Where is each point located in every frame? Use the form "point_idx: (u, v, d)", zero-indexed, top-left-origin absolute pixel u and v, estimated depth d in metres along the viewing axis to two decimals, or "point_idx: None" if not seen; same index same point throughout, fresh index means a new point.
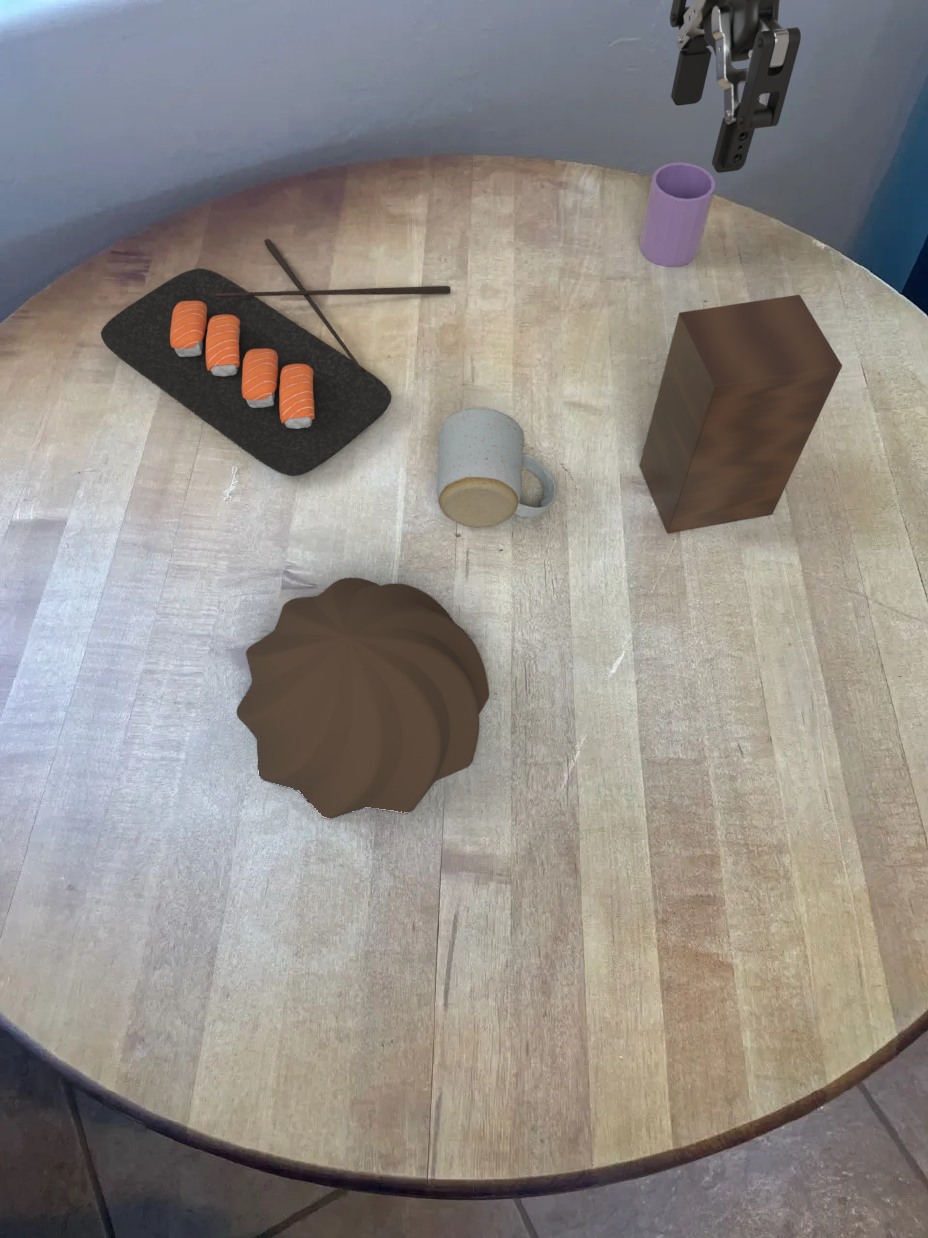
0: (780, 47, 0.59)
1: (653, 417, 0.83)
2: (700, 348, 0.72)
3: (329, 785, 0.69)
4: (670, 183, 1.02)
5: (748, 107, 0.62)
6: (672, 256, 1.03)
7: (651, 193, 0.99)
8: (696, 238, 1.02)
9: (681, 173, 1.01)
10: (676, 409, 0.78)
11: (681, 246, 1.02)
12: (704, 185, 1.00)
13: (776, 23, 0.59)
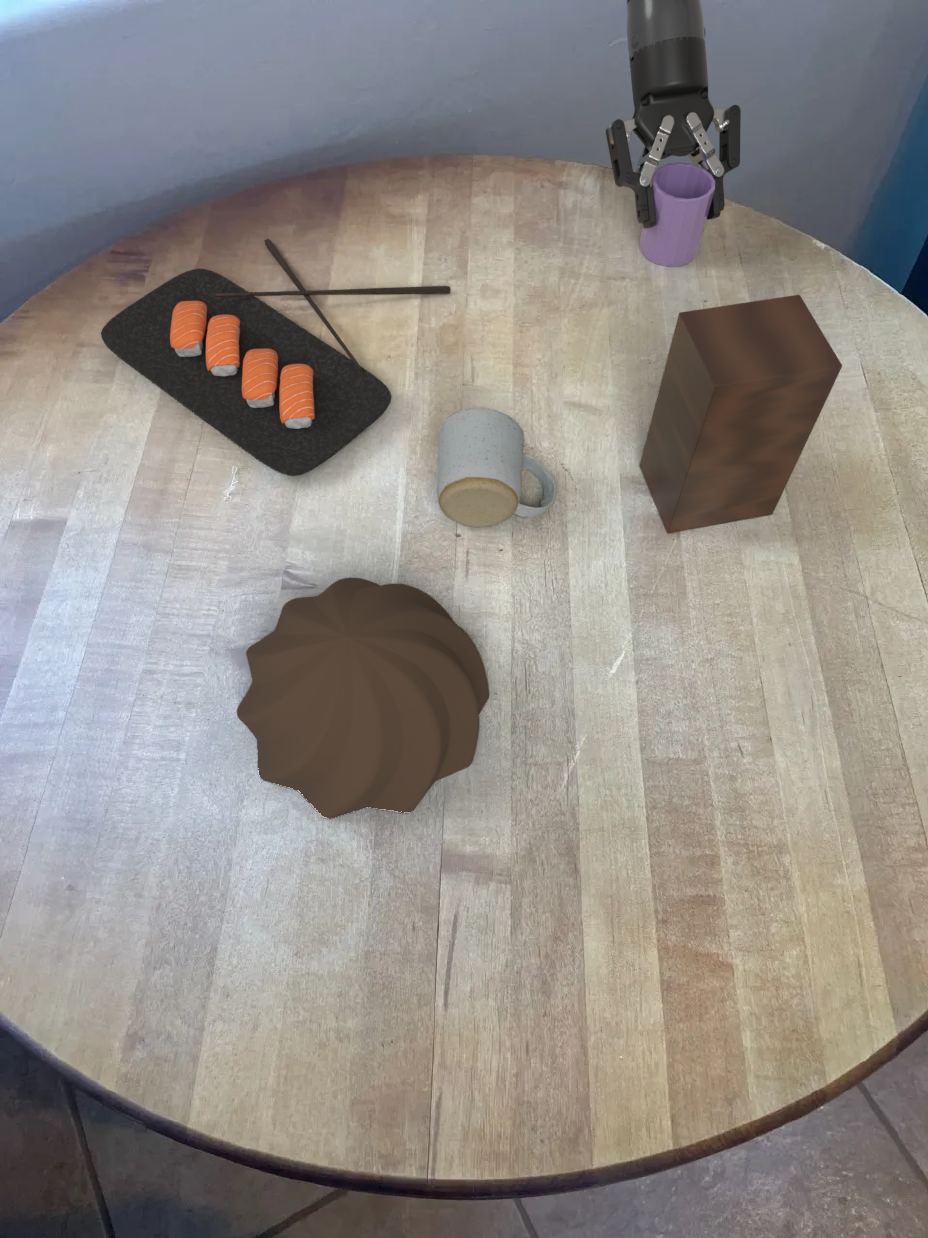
0: None
1: (653, 417, 0.83)
2: (700, 348, 0.72)
3: (329, 785, 0.69)
4: (670, 183, 1.02)
5: None
6: (672, 256, 1.03)
7: None
8: (696, 238, 1.02)
9: (681, 173, 1.01)
10: (676, 409, 0.78)
11: (681, 246, 1.02)
12: (704, 185, 1.00)
13: None
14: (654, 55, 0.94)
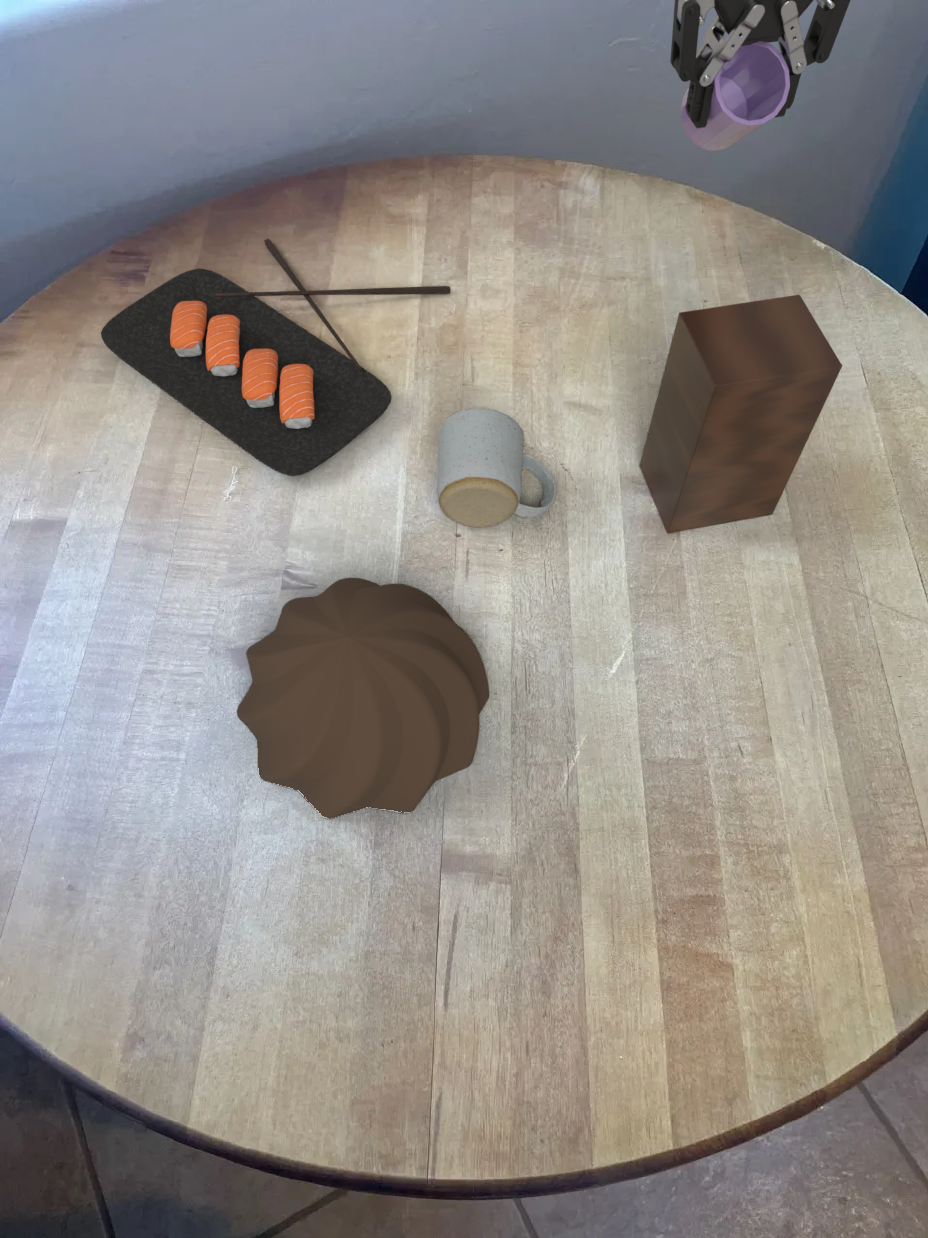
0: None
1: (653, 417, 0.83)
2: (700, 348, 0.72)
3: (329, 786, 0.69)
4: (738, 54, 0.80)
5: (834, 40, 0.77)
6: (714, 146, 0.86)
7: None
8: (747, 134, 0.84)
9: (755, 50, 0.79)
10: (676, 409, 0.78)
11: (727, 143, 0.85)
12: (777, 76, 0.80)
13: None
14: None
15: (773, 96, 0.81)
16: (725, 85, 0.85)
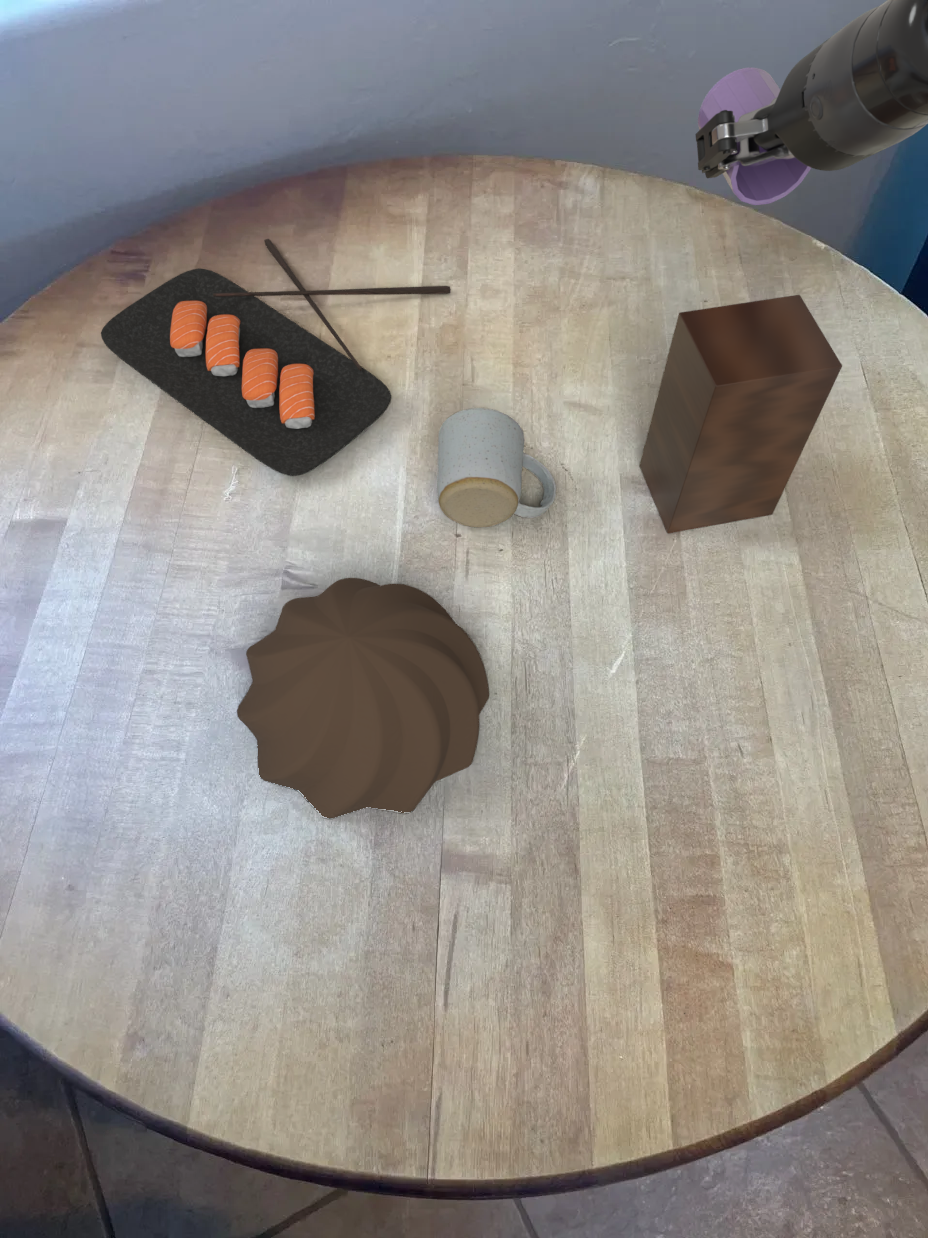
0: None
1: (653, 417, 0.83)
2: (700, 348, 0.72)
3: (329, 786, 0.69)
4: None
5: None
6: None
7: None
8: None
9: None
10: (676, 409, 0.78)
11: None
12: None
13: None
14: (819, 148, 0.61)
15: None
16: None
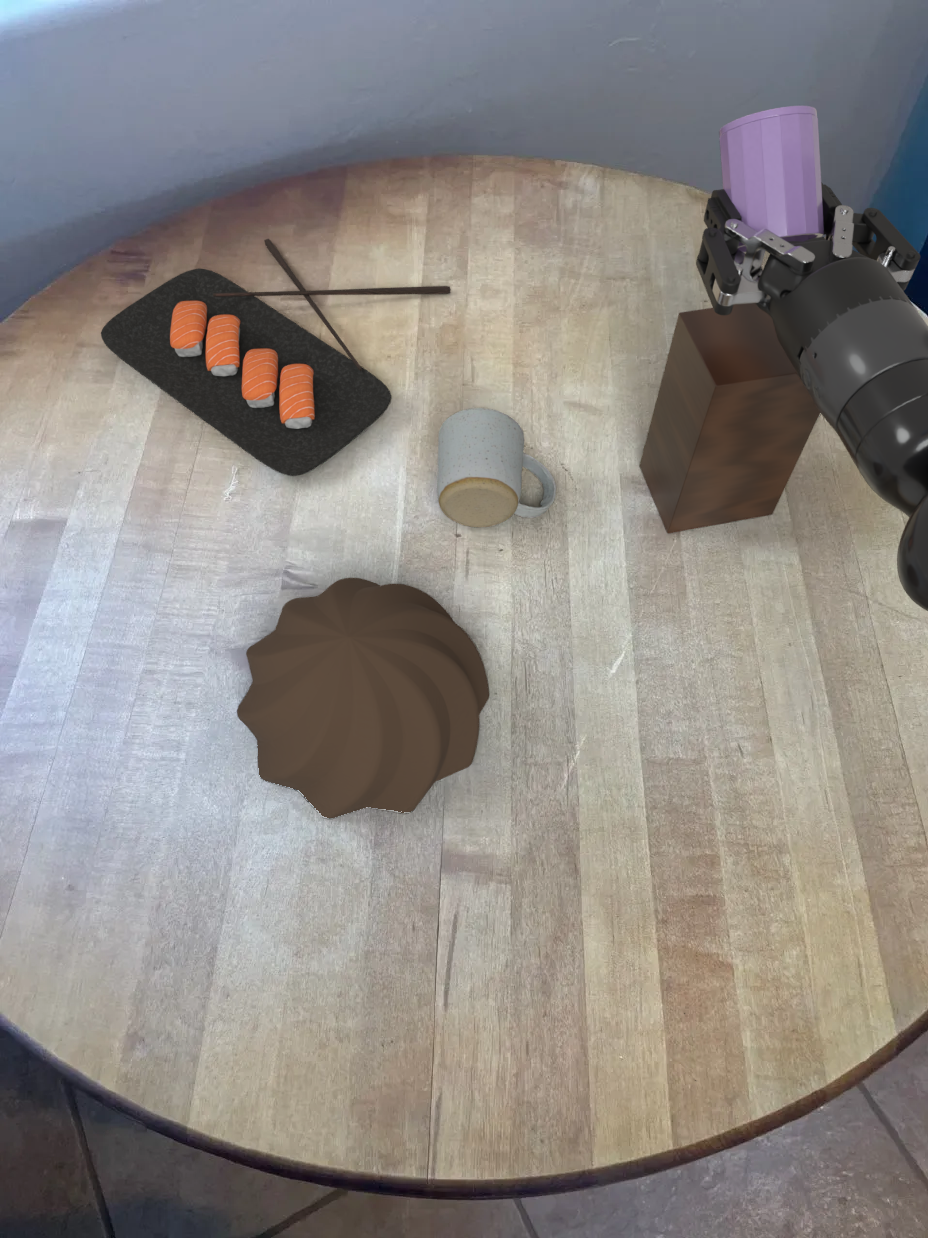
0: None
1: (653, 417, 0.83)
2: (700, 348, 0.72)
3: (329, 786, 0.69)
4: None
5: None
6: None
7: None
8: None
9: None
10: (676, 409, 0.78)
11: None
12: None
13: (893, 273, 0.63)
14: None
15: None
16: None
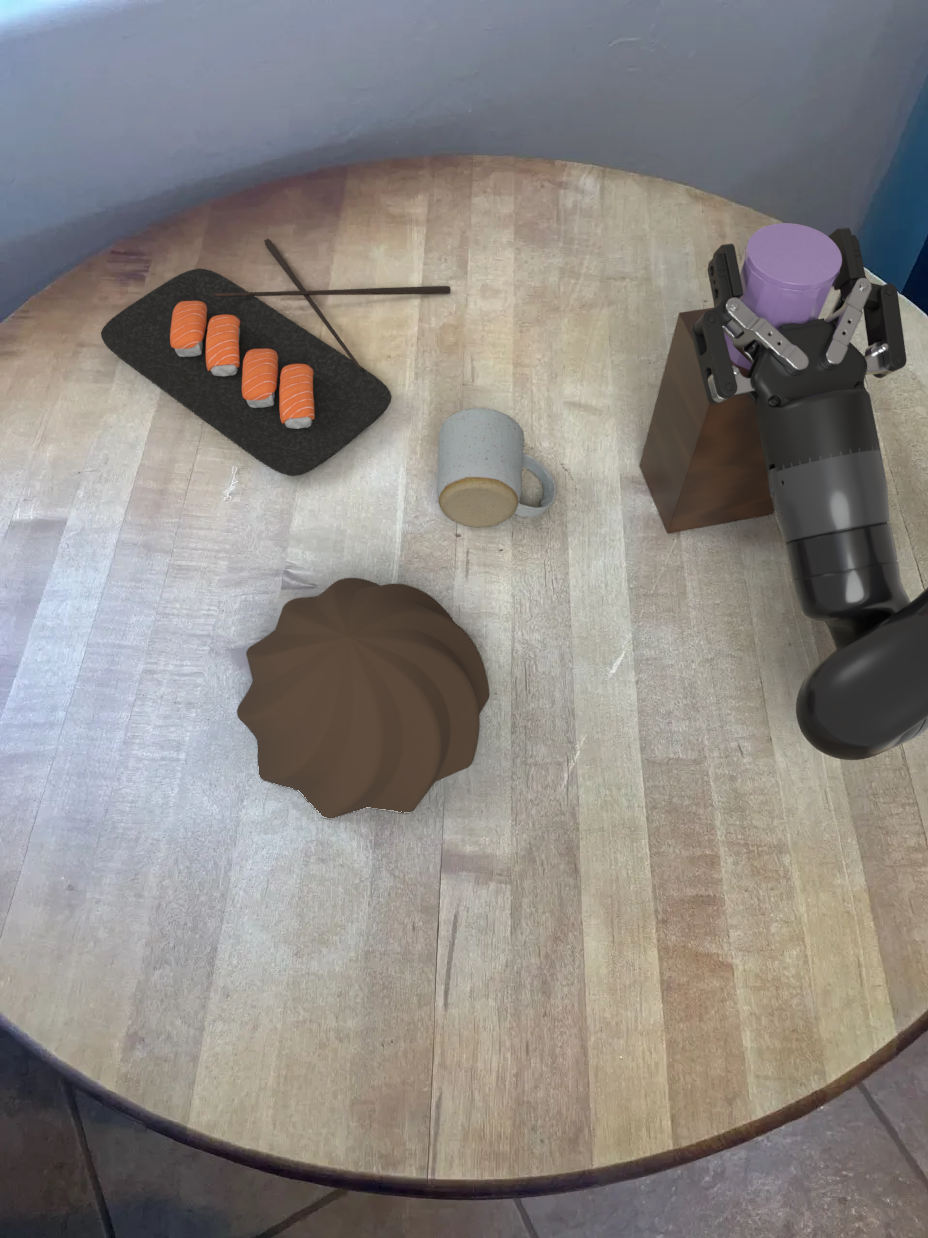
0: None
1: (653, 417, 0.83)
2: None
3: (329, 786, 0.69)
4: None
5: None
6: None
7: (726, 339, 0.71)
8: None
9: None
10: (676, 409, 0.78)
11: None
12: None
13: (876, 371, 0.67)
14: None
15: None
16: None
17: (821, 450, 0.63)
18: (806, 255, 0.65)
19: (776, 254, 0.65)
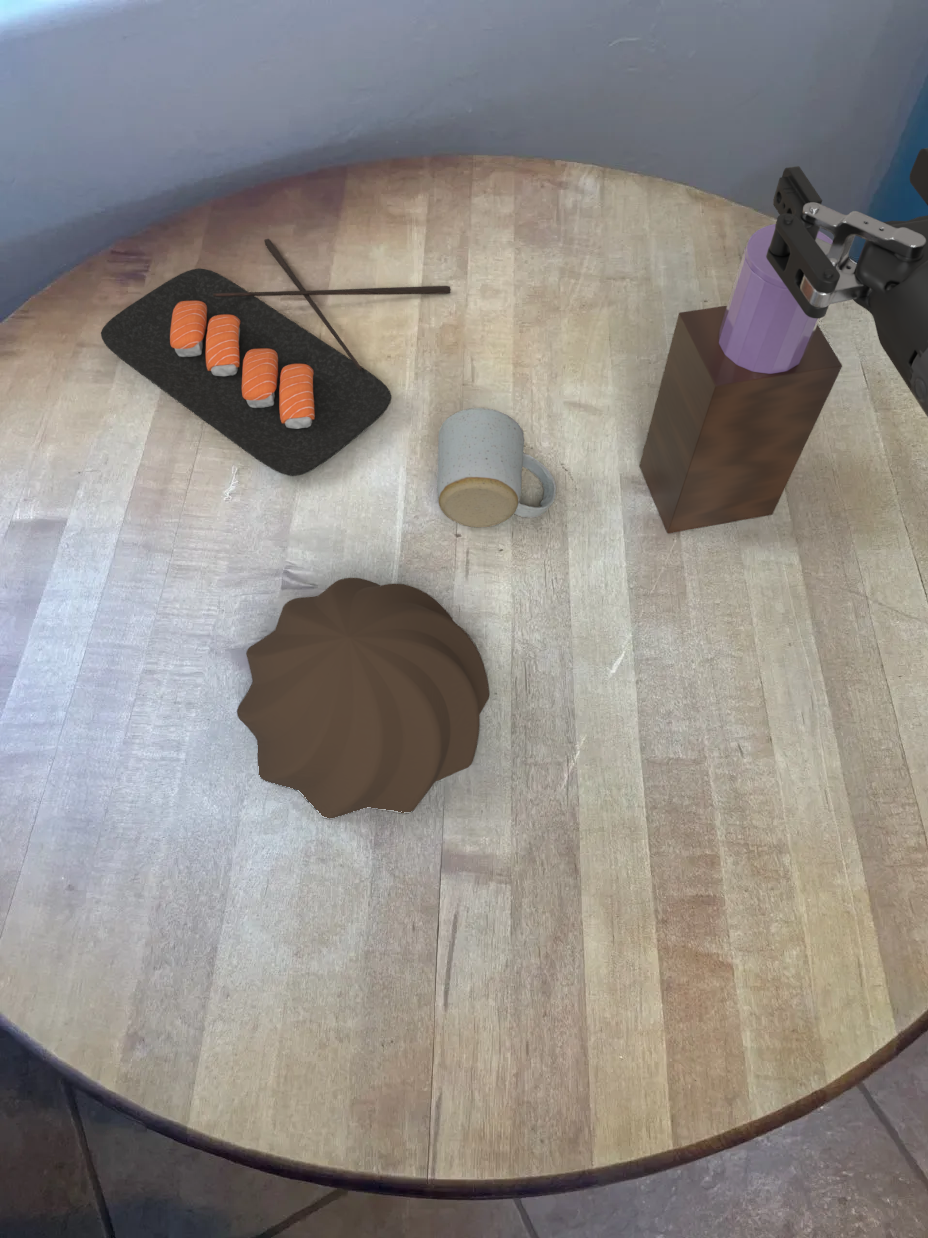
0: None
1: (653, 417, 0.83)
2: (700, 348, 0.72)
3: (329, 786, 0.69)
4: None
5: None
6: None
7: (726, 339, 0.71)
8: None
9: None
10: (676, 409, 0.78)
11: None
12: None
13: None
14: None
15: None
16: None
17: None
18: None
19: None
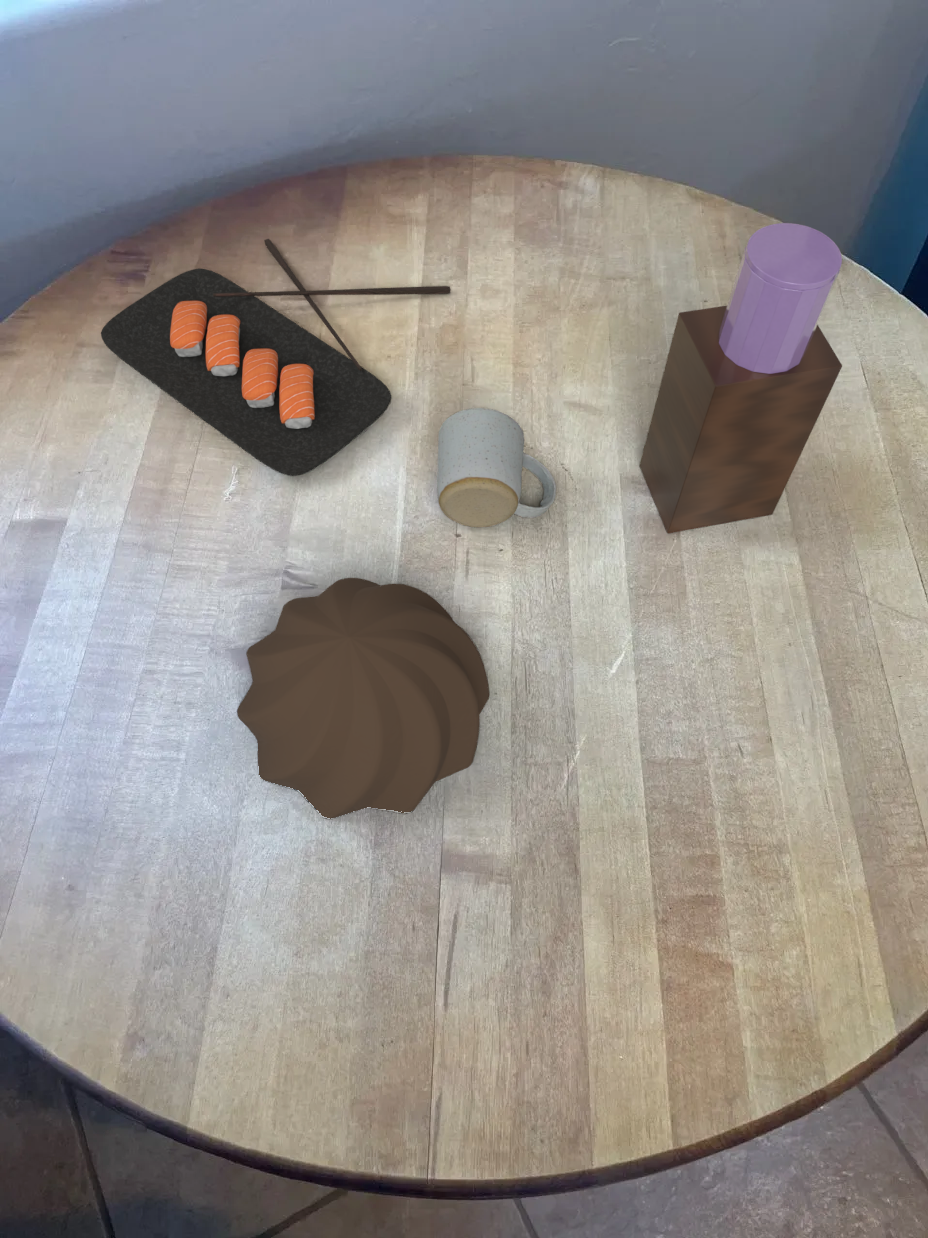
0: None
1: (653, 417, 0.83)
2: (700, 348, 0.72)
3: (329, 786, 0.69)
4: None
5: None
6: None
7: (726, 339, 0.71)
8: None
9: None
10: (676, 409, 0.78)
11: None
12: None
13: None
14: None
15: None
16: None
17: None
18: (806, 255, 0.65)
19: (776, 254, 0.65)
